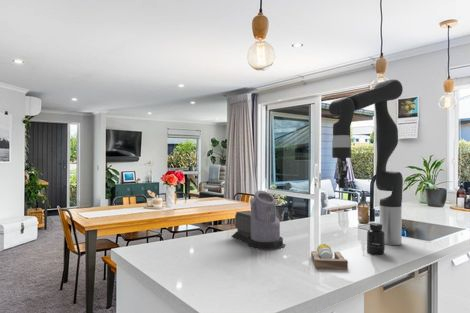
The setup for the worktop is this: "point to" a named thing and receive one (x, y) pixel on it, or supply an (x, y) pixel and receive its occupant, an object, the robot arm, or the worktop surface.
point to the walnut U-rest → (329, 261)
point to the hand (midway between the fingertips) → (341, 187)
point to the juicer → (259, 223)
